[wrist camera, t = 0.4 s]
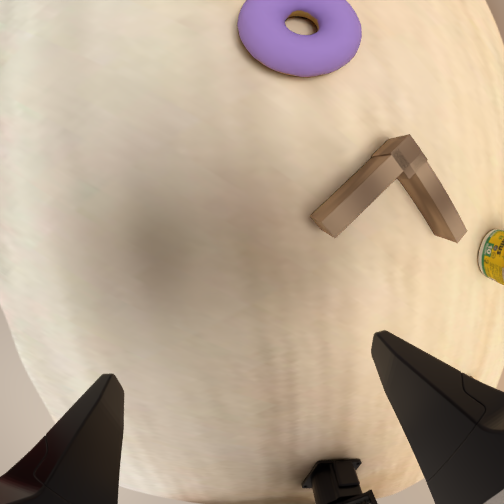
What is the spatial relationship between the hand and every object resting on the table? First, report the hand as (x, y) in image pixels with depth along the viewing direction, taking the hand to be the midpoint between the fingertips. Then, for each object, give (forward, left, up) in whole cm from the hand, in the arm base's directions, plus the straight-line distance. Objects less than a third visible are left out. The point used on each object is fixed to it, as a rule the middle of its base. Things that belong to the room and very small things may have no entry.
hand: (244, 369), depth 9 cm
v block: (+9, -10, -15) cm, 20 cm away
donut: (+19, 0, -15) cm, 25 cm away
